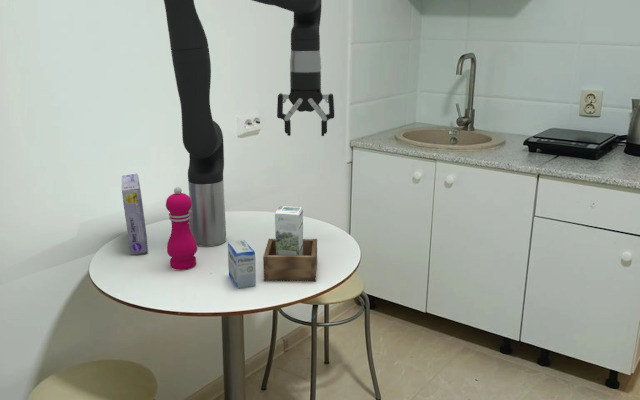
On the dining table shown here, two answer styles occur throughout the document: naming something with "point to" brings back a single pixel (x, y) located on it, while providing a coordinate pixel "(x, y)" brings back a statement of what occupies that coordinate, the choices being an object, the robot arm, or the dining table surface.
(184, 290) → the dining table surface
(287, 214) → the syrup box
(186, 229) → the pepper mill
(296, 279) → the open wooden box
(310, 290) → the dining table surface
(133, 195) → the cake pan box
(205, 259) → the dining table surface
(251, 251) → the medicine box
